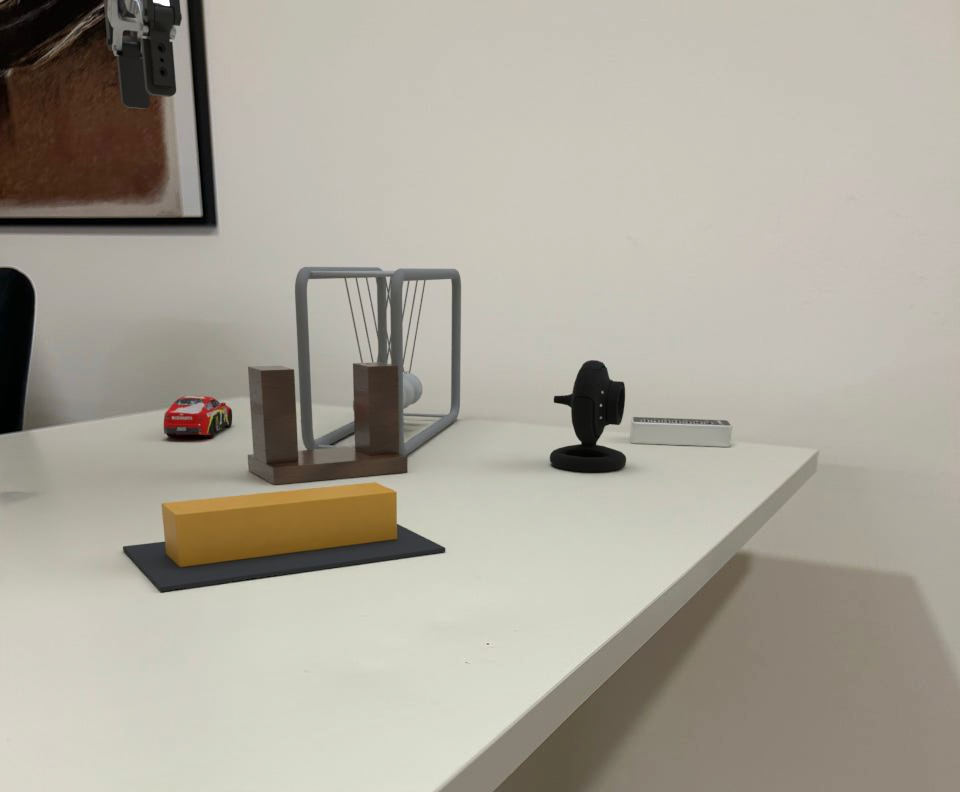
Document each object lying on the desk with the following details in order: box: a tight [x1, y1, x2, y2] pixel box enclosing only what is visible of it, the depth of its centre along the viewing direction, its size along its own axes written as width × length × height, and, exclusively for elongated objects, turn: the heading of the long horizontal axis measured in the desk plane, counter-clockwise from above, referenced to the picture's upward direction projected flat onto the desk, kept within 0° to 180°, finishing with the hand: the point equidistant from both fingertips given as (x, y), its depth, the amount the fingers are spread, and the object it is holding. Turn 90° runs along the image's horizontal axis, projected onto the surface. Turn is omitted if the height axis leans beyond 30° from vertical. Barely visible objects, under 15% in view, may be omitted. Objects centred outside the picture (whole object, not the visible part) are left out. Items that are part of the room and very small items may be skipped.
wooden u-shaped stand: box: [247, 361, 408, 486], centre depth 90 cm, size 13×7×10 cm, turn 121°
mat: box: [122, 523, 446, 593], centre depth 66 cm, size 19×10×1 cm, turn 121°
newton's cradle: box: [294, 266, 462, 456], centre depth 108 cm, size 30×10×18 cm, turn 170°
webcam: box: [549, 359, 627, 473], centre depth 95 cm, size 8×8×10 cm
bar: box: [160, 481, 398, 567], centre depth 65 cm, size 15×3×3 cm, turn 121°
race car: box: [163, 395, 233, 438], centre depth 110 cm, size 13×5×4 cm, turn 178°
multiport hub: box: [629, 416, 733, 448], centre depth 110 cm, size 4×11×2 cm, turn 83°
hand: (148, 102), depth 80 cm, fingers open, 8 cm apart
